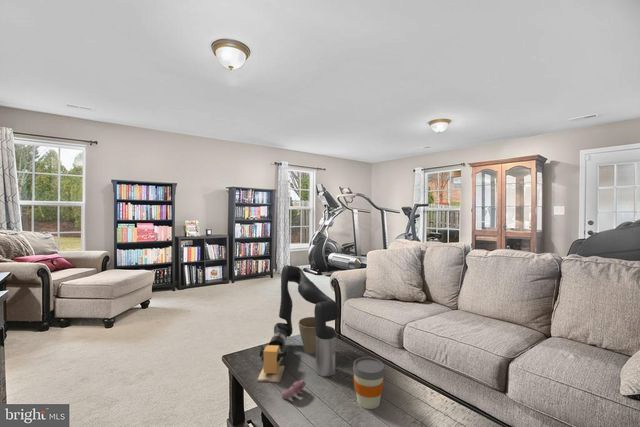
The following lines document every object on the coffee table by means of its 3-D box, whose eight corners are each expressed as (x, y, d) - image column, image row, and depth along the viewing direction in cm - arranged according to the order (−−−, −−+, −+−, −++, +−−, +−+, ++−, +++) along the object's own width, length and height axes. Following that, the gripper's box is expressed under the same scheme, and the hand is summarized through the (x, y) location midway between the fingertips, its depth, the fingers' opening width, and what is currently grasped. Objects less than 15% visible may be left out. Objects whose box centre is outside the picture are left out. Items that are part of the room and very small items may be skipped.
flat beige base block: (284, 367, 146) (284, 355, 146) (279, 382, 134) (279, 368, 134) (264, 367, 146) (264, 354, 146) (257, 381, 134) (257, 368, 134)
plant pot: (297, 345, 170) (297, 317, 170) (323, 344, 171) (324, 316, 171) (298, 358, 155) (298, 327, 155) (327, 357, 157) (327, 326, 156)
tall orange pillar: (279, 366, 143) (279, 345, 143) (276, 373, 137) (276, 351, 137) (266, 365, 143) (266, 345, 143) (263, 372, 137) (263, 351, 137)
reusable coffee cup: (351, 391, 127) (351, 356, 127) (381, 392, 127) (381, 357, 127) (354, 411, 115) (354, 372, 115) (387, 412, 114) (387, 373, 114)
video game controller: (287, 405, 120) (293, 393, 118) (280, 396, 123) (286, 384, 121) (303, 393, 128) (309, 381, 126) (296, 385, 131) (301, 373, 129)
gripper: (263, 335, 155) (254, 351, 138) (291, 336, 154) (286, 352, 137) (263, 349, 155) (254, 367, 138) (291, 350, 154) (285, 368, 137)
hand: (270, 359), depth 138 cm, fingers closed on tall orange pillar, 6 cm apart
